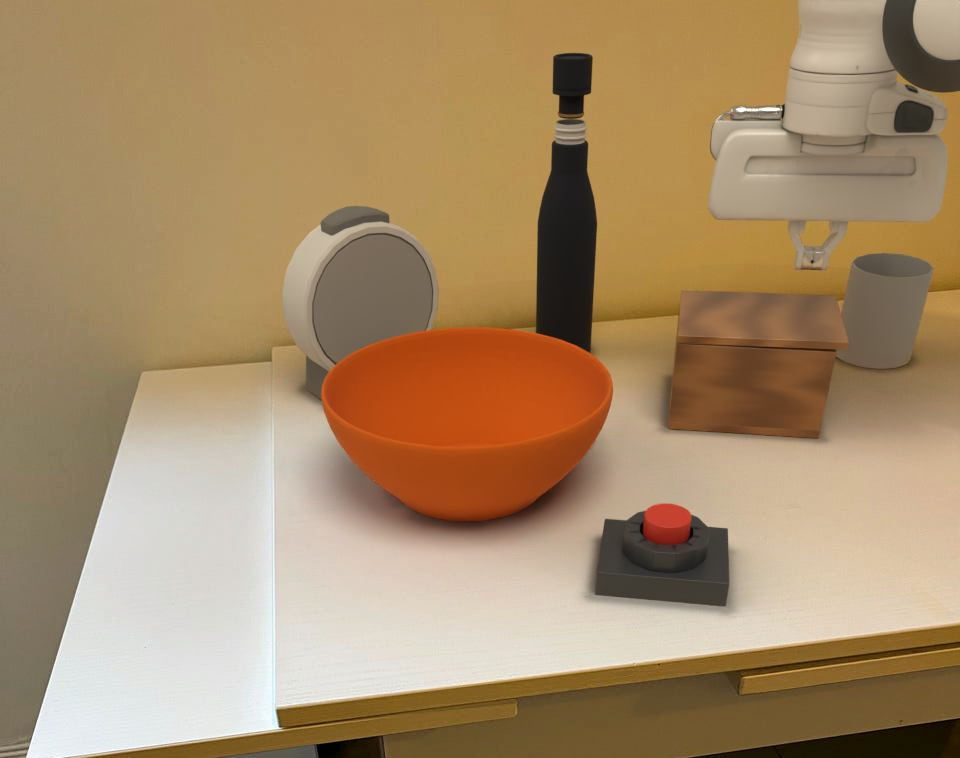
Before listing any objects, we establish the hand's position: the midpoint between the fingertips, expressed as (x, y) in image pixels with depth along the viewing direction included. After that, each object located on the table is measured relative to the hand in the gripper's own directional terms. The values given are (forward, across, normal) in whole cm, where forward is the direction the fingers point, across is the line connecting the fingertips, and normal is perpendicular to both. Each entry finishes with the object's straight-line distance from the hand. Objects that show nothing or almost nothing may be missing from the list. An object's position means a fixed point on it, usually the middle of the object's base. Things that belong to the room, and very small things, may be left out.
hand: (810, 268), depth 94 cm
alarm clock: (+14, -45, 0) cm, 47 cm away
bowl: (+14, -30, -20) cm, 38 cm away
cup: (+15, +10, +16) cm, 24 cm away
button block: (+14, -12, -32) cm, 37 cm away
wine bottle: (+14, -25, +12) cm, 31 cm away
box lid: (+5, -4, 0) cm, 7 cm away
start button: (+10, -12, -32) cm, 36 cm away
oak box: (+14, -5, 0) cm, 15 cm away
